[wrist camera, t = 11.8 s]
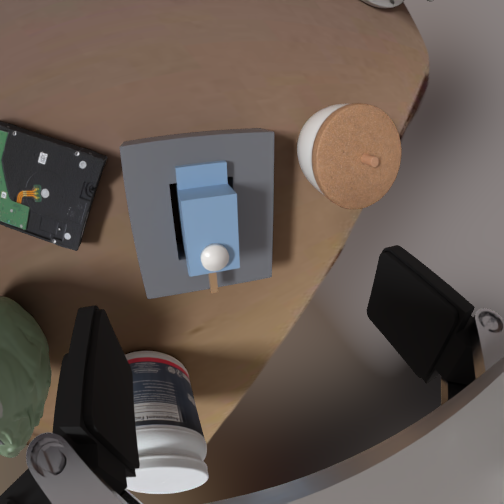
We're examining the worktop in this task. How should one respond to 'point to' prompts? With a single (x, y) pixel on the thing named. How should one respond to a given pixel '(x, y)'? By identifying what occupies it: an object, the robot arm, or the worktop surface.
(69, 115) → the worktop surface
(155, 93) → the worktop surface
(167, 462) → the supplement tub
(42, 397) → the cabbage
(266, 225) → the plate
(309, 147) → the lidded jar
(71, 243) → the disk drive
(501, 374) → the robot arm
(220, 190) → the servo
